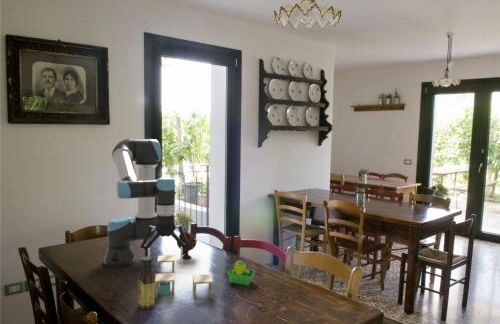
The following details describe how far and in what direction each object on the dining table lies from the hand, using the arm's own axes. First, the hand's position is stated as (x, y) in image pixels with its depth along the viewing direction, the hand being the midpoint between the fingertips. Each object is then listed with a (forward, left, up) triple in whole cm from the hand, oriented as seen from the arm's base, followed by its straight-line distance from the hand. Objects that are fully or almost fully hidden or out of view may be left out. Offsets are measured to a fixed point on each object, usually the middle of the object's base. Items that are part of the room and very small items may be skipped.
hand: (165, 263), depth 162 cm
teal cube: (0, 0, -13) cm, 13 cm away
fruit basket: (+14, +32, -13) cm, 37 cm away
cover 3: (+12, +11, -13) cm, 21 cm away
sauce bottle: (+6, -12, -13) cm, 19 cm away
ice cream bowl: (-30, +34, -13) cm, 47 cm away
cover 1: (-20, +14, -13) cm, 28 cm away
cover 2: (0, 0, -13) cm, 13 cm away
